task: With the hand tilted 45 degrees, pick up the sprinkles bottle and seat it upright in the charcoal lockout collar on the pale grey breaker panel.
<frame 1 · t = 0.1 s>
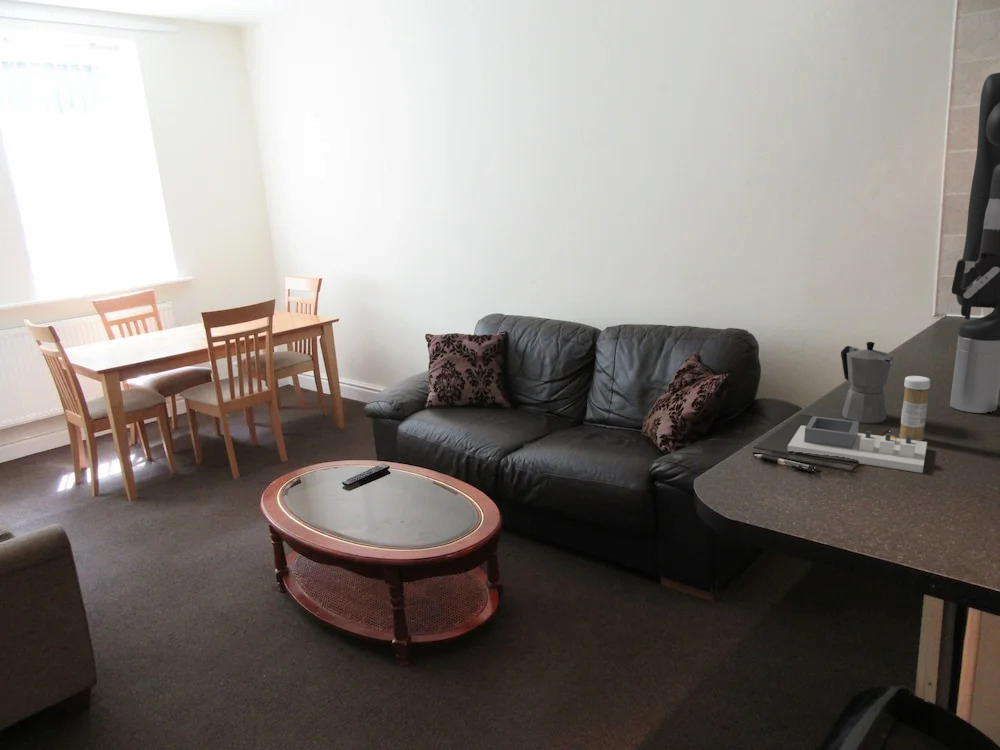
hand: (996, 320, 122), 29 cm above the breakfast bar, tool pointing down, fingers open, 8 cm apart
sprinkles bottle: (910, 439, 148), on the breakfast bar
breaker panel: (856, 450, 143), on the breakfast bar
coffeepot: (860, 416, 163), on the breakfast bar
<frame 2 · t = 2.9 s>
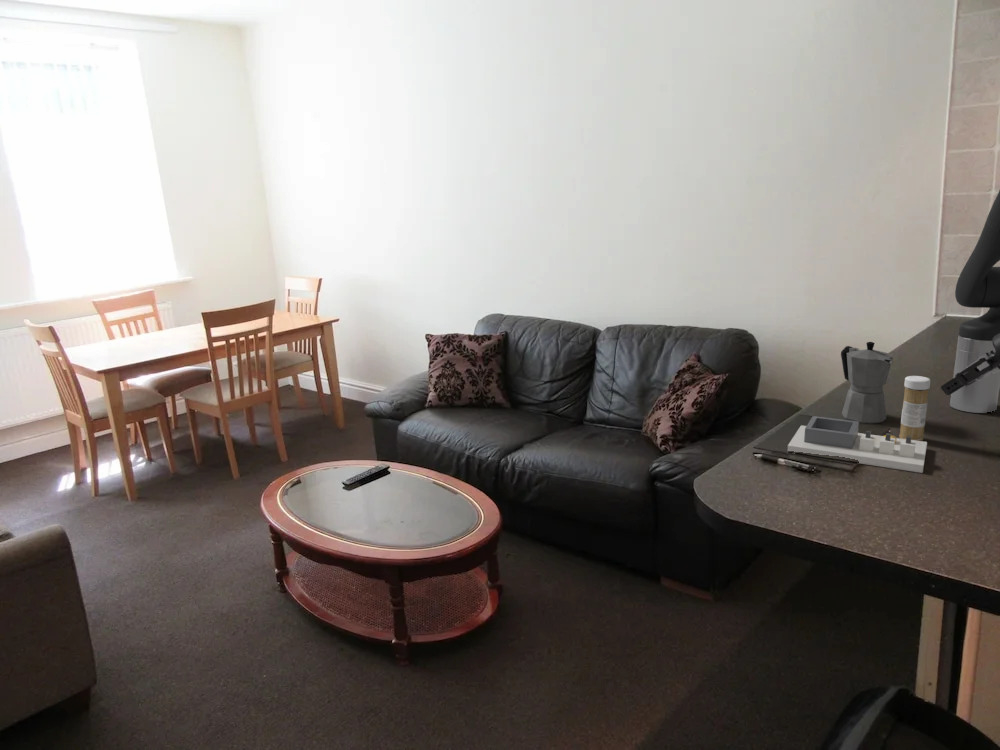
hand: (953, 386, 139), 13 cm above the breakfast bar, tool tilted 45°, fingers open, 8 cm apart
nothing on the breakfast bar moved.
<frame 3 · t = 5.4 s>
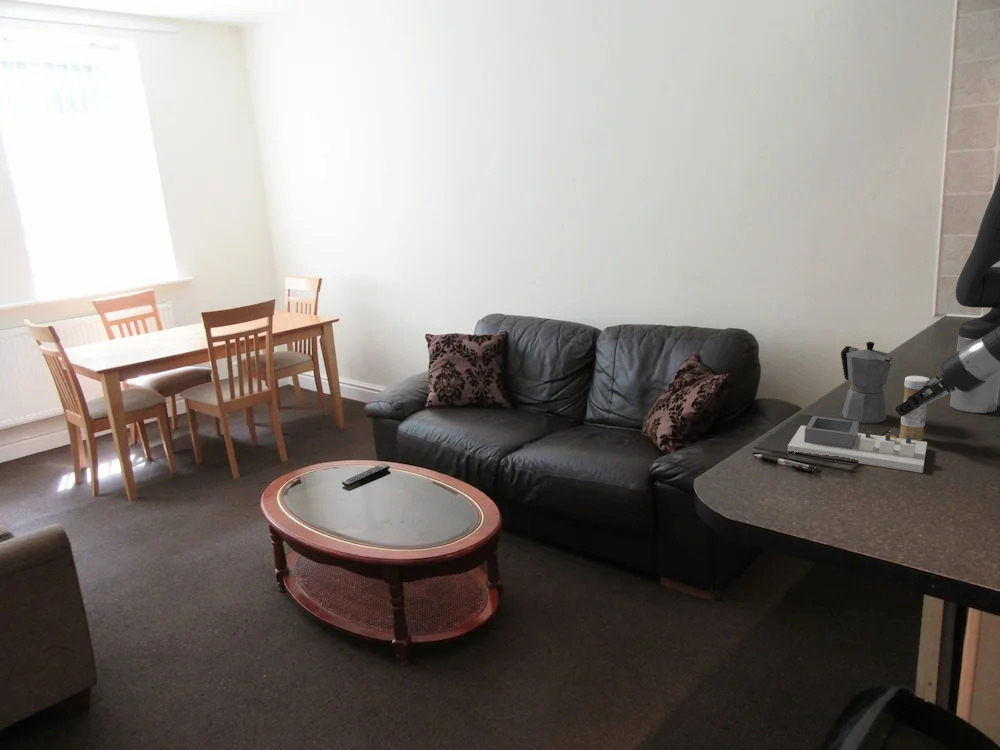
hand: (904, 409, 148), 6 cm above the breakfast bar, tool tilted 45°, fingers closed on sprinkles bottle, 4 cm apart
sprinkles bottle: (910, 439, 148), on the breakfast bar, touching gripper
everything else where it was.
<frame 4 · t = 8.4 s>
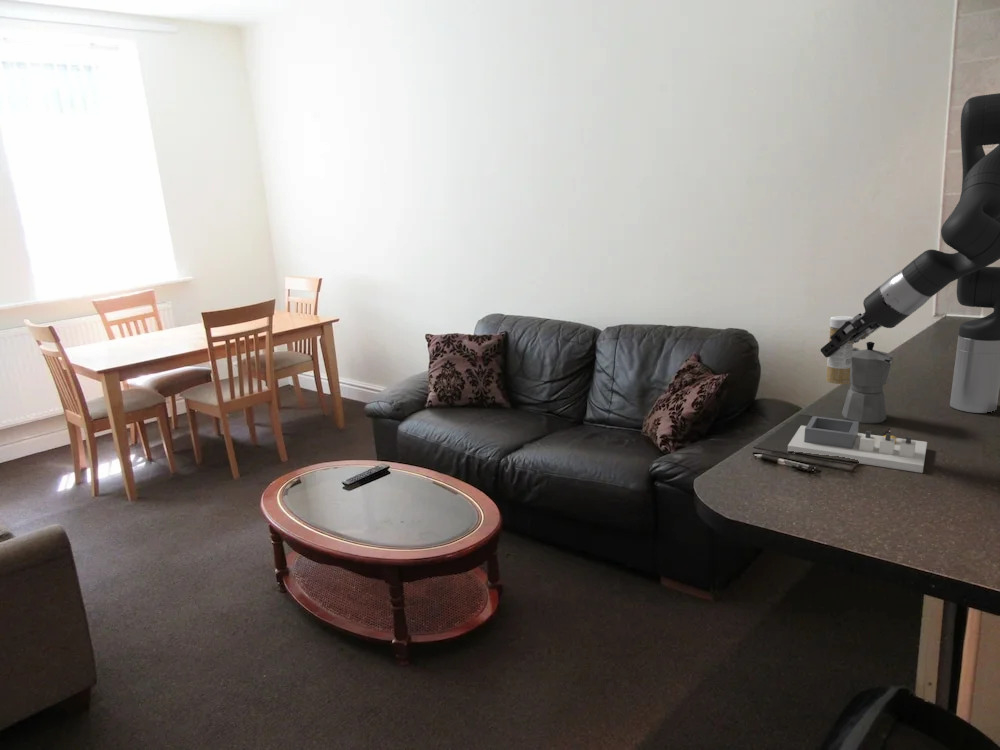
hand: (830, 351, 143), 20 cm above the breakfast bar, tool tilted 45°, fingers closed on sprinkles bottle, 4 cm apart
sprinkles bottle: (837, 383, 143), point 14 cm above the breakfast bar, touching gripper
everything else where it was.
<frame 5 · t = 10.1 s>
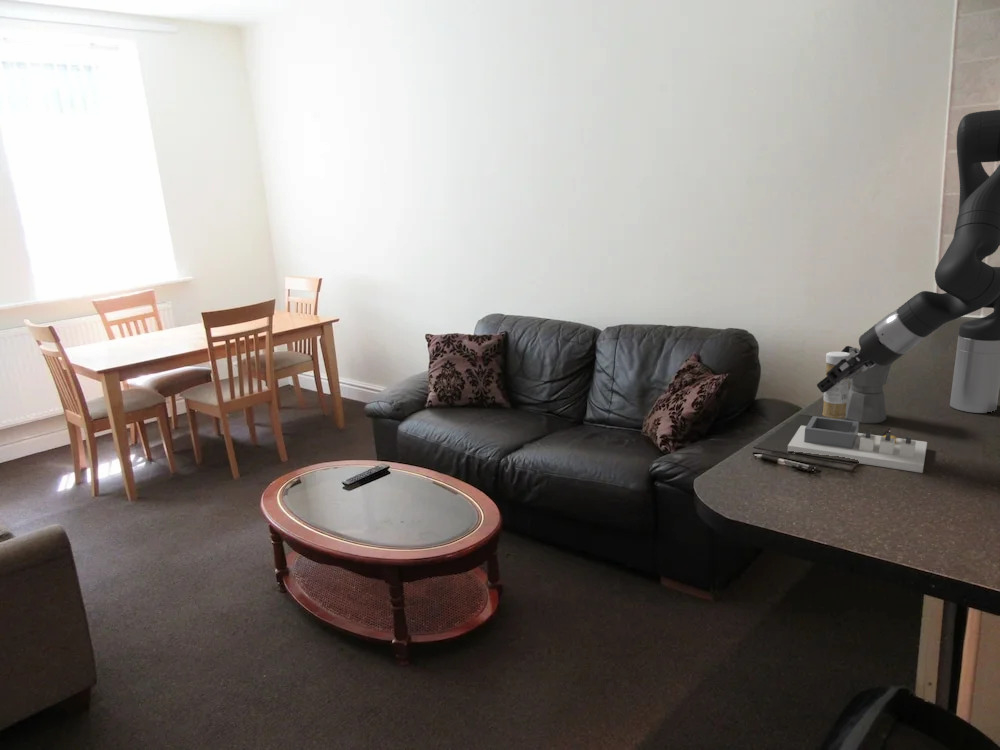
hand: (826, 386, 145), 13 cm above the breakfast bar, tool tilted 45°, fingers closed on sprinkles bottle, 4 cm apart
sprinkles bottle: (833, 417, 145), point 6 cm above the breakfast bar, touching gripper
everything else where it was.
when the fingers open (9 cm above the breakfast bar, at t = 11.4 s): sprinkles bottle drops 1 cm, resting on breaker panel.
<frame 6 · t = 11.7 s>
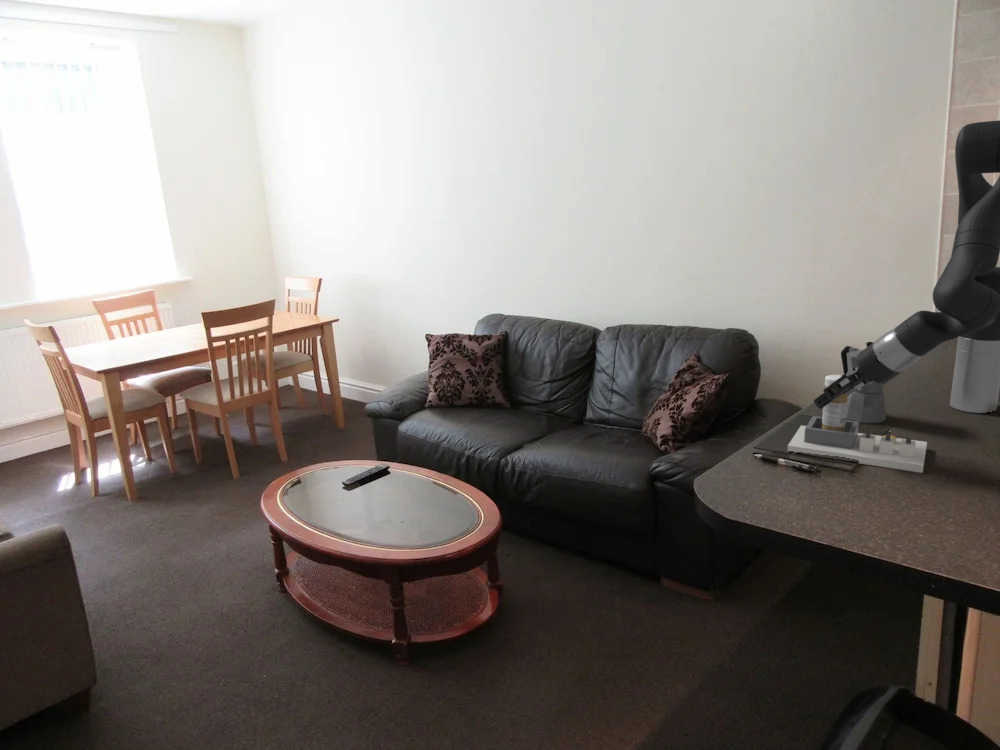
hand: (826, 401, 145), 9 cm above the breakfast bar, tool tilted 45°, fingers open, 6 cm apart
sprinkles bottle: (832, 439, 146), point 1 cm above the breakfast bar, touching breaker panel
everything else where it was.
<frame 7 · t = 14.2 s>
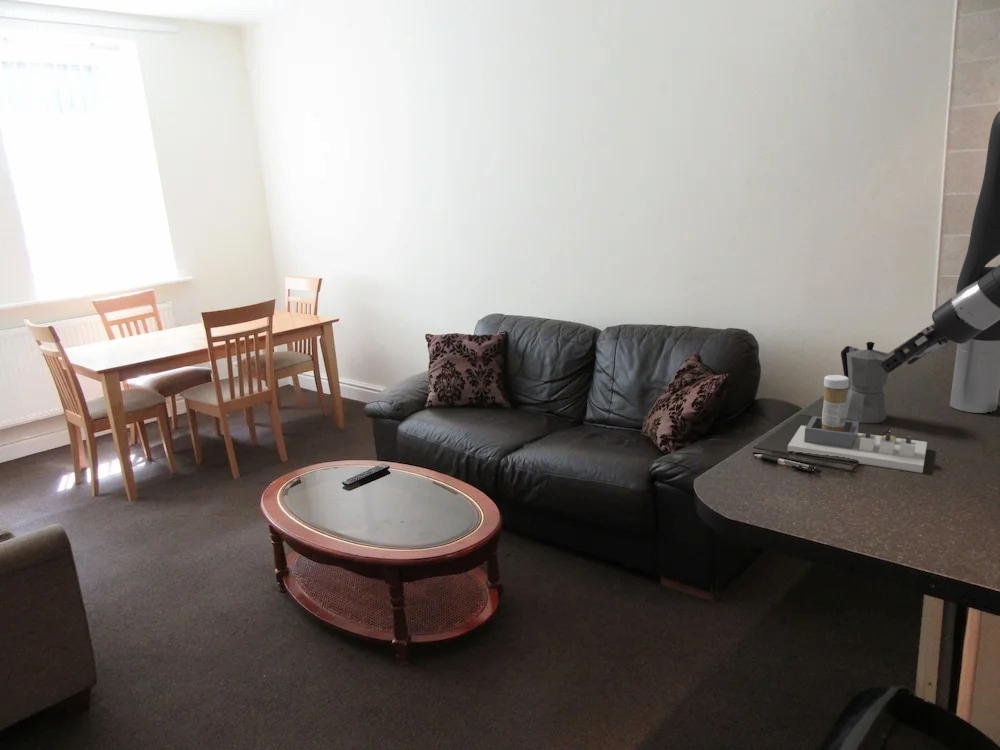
hand: (895, 364, 133), 19 cm above the breakfast bar, tool tilted 45°, fingers open, 8 cm apart
nothing on the breakfast bar moved.
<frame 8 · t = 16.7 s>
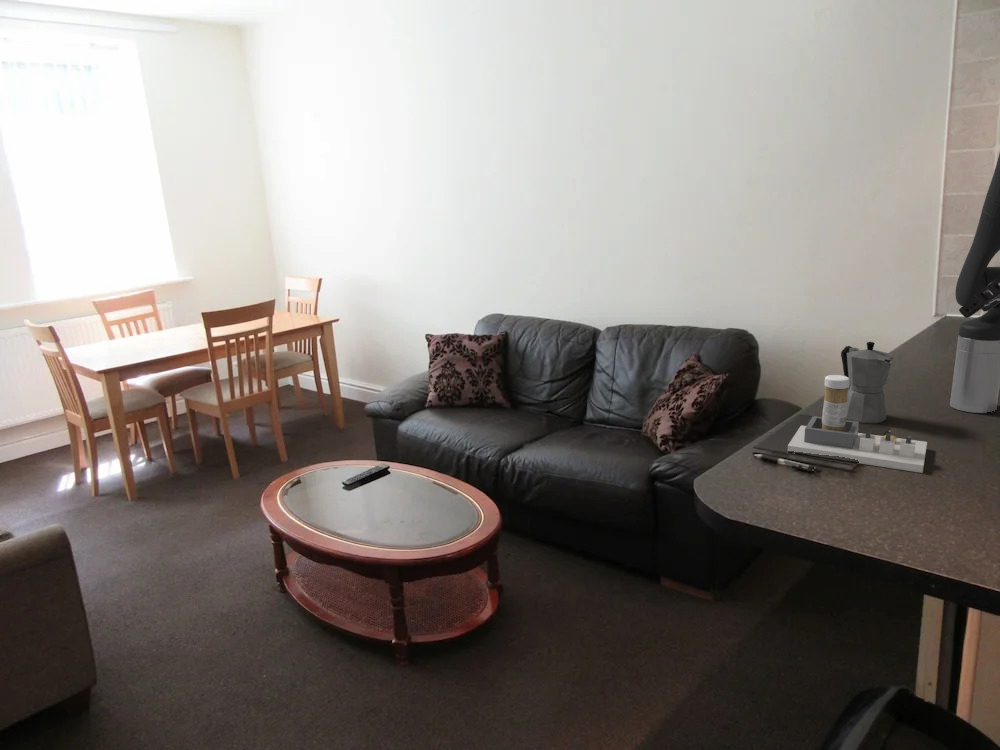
hand: (972, 310, 133), 29 cm above the breakfast bar, tool tilted 45°, fingers open, 8 cm apart
nothing on the breakfast bar moved.
at the end: sprinkles bottle 0.3 cm from the target spot on the breaker panel, point 1.3 cm above the breaker panel's base; sprinkles bottle tilted 0°; the gripper is holding nothing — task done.
